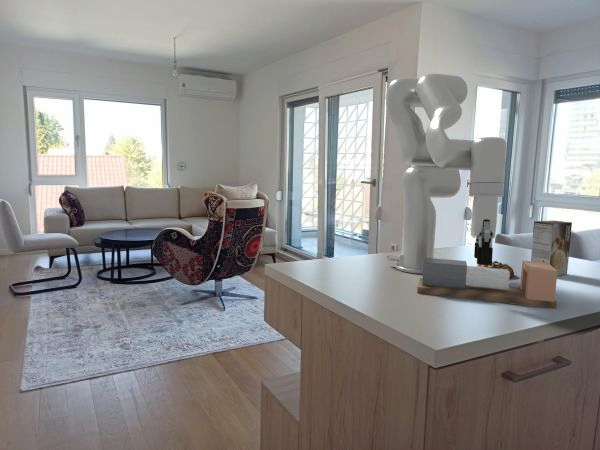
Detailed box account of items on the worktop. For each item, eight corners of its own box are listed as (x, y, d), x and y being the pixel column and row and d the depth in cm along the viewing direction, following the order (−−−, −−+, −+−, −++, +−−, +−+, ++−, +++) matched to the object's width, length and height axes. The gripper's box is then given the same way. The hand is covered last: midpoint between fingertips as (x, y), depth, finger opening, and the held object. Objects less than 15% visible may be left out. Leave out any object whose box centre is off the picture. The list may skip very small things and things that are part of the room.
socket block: (526, 298, 96) (529, 268, 95) (519, 288, 105) (522, 260, 104) (554, 301, 94) (557, 271, 93) (544, 290, 103) (547, 262, 103)
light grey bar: (426, 281, 106) (427, 265, 105) (427, 277, 109) (428, 262, 109) (508, 289, 100) (509, 272, 99) (506, 285, 103) (507, 269, 103)
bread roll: (522, 276, 125) (521, 259, 124) (499, 285, 119) (498, 268, 118) (488, 270, 134) (487, 254, 133) (465, 278, 128) (464, 262, 128)
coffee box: (547, 270, 134) (552, 219, 132) (567, 274, 128) (573, 222, 126) (528, 272, 129) (533, 220, 127) (549, 277, 124) (554, 223, 122)
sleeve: (422, 285, 105) (423, 261, 104) (423, 280, 111) (424, 257, 110) (465, 290, 102) (467, 265, 101) (464, 284, 108) (466, 261, 107)
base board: (417, 292, 104) (417, 287, 104) (419, 283, 113) (420, 277, 113) (556, 308, 94) (556, 302, 94) (546, 296, 103) (547, 290, 103)
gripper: (467, 190, 110) (464, 255, 111) (471, 190, 94) (467, 266, 95) (499, 190, 107) (495, 257, 109) (508, 190, 91) (504, 269, 93)
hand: (482, 261), depth 102 cm, fingers open, 9 cm apart
